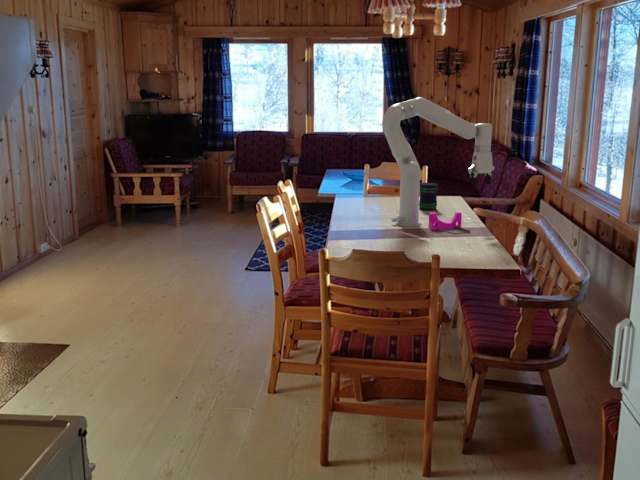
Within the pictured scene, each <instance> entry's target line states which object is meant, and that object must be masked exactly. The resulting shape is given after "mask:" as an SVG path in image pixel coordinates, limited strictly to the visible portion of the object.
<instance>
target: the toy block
mask: <svg viewBox="0 0 640 480" xmlns="http://www.w3.org/2000/svg"><path fill="white" fill-rule="evenodd" d="M454 227H460V228H462V212H460V211H459V212H458V211H456V212H455V213H454V216H453V217H452V218H451V219H450V220H448V221H441V219H439V217H438V215H437V213H436V212H428V229H429V230H432V231H436V230H439V231H441V230H445V229H454Z"/></svg>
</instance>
